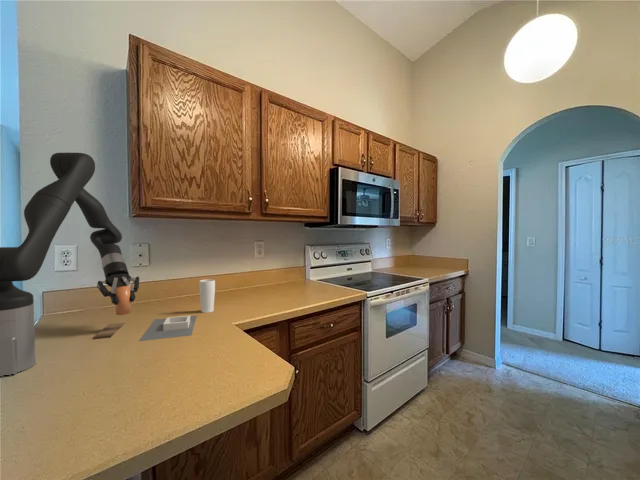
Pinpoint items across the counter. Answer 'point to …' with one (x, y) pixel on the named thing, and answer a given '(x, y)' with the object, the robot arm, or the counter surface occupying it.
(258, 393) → the counter surface
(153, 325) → the board
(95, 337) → the pad
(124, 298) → the orange cylinder
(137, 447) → the counter surface
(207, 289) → the drinking glass
